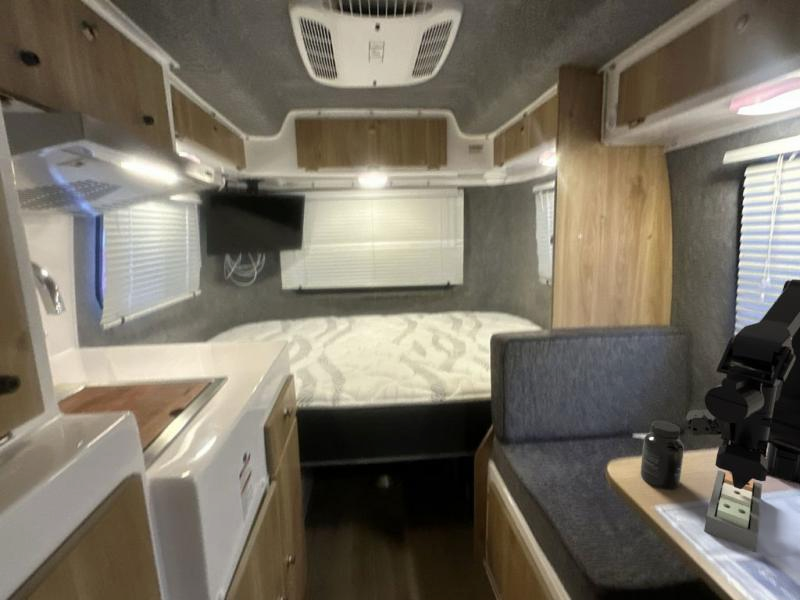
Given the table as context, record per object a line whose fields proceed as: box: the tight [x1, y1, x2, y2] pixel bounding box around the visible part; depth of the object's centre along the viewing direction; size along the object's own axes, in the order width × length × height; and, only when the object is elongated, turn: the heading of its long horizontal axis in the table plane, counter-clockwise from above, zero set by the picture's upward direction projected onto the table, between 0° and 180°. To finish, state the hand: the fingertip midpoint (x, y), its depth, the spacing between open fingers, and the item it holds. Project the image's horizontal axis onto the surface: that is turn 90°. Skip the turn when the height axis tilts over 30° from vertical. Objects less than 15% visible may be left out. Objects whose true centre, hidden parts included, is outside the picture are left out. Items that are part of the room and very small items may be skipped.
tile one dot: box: [721, 483, 752, 508], centre depth 72 cm, size 4×4×3 cm
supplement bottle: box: [640, 420, 685, 490], centre depth 82 cm, size 7×7×12 cm
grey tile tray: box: [704, 470, 763, 552], centre depth 73 cm, size 17×7×3 cm, turn 137°
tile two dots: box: [717, 498, 750, 529], centre depth 68 cm, size 4×4×3 cm
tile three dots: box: [724, 470, 755, 492], centre depth 76 cm, size 4×4×3 cm
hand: (737, 487), depth 72 cm, fingers closed
